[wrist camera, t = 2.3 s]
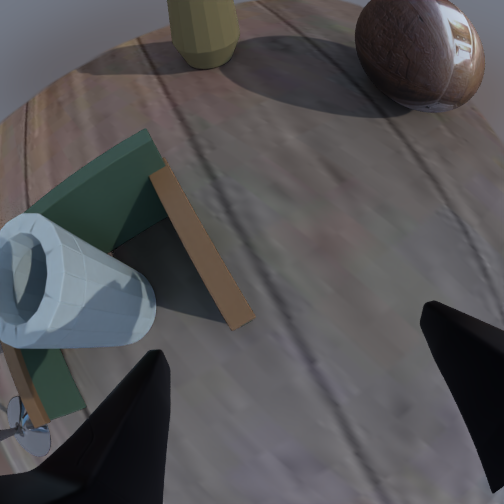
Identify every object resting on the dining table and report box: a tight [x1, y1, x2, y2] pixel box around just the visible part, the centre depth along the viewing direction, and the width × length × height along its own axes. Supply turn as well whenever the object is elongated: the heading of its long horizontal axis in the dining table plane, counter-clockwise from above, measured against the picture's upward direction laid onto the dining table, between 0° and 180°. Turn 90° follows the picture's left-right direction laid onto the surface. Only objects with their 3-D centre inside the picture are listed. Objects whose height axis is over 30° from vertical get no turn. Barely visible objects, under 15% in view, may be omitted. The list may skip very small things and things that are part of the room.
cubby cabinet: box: [0, 128, 256, 428], centre depth 19 cm, size 13×19×10 cm
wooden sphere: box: [355, 0, 485, 113], centre depth 22 cm, size 15×15×15 cm
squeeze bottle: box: [167, 0, 240, 69], centre depth 23 cm, size 8×8×18 cm
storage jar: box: [0, 213, 156, 349], centre depth 17 cm, size 7×7×13 cm
